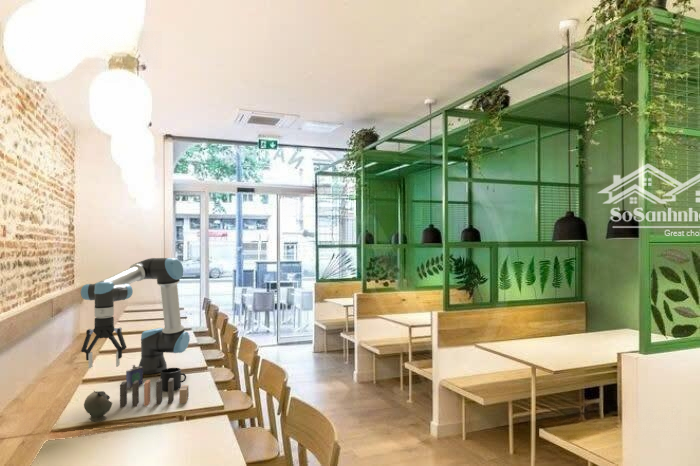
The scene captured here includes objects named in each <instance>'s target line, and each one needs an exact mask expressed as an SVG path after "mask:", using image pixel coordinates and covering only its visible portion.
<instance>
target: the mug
mask: <svg viewBox="0 0 700 466" xmlns="http://www.w3.org/2000/svg"><path fill="white" fill-rule="evenodd" d="M181 370H182V369H181V368H180V367H167V369H163V370H161V372H160V379H162V392H168V381H169V379H170V378H174V391H177V390H180V388H181V386H182V383H184V382H185V381H186V380H187V375H186V373H183V372H182V371H181ZM182 376H184V379H183V380H182Z"/></svg>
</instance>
